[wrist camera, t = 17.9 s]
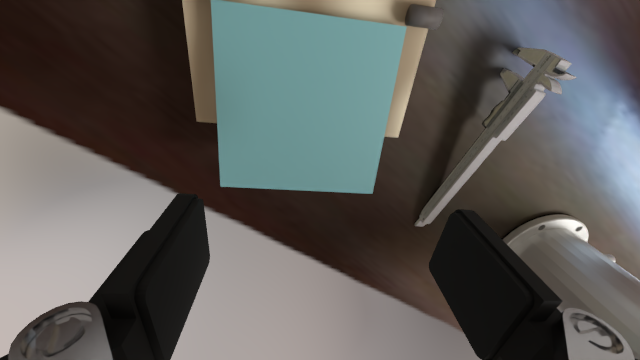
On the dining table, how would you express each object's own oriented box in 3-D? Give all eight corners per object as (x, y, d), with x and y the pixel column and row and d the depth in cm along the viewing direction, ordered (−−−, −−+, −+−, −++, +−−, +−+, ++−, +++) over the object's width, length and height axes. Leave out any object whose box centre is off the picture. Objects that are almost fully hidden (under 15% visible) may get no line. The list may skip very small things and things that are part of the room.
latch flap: (400, 28, 18) (406, 26, 17) (369, 188, 22) (372, 193, 21) (215, 2, 16) (210, -2, 15) (223, 181, 21) (220, 186, 20)
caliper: (512, 46, 23) (579, 51, 18) (522, 50, 23) (591, 56, 18) (413, 223, 32) (437, 261, 27) (420, 224, 33) (446, 263, 27)
